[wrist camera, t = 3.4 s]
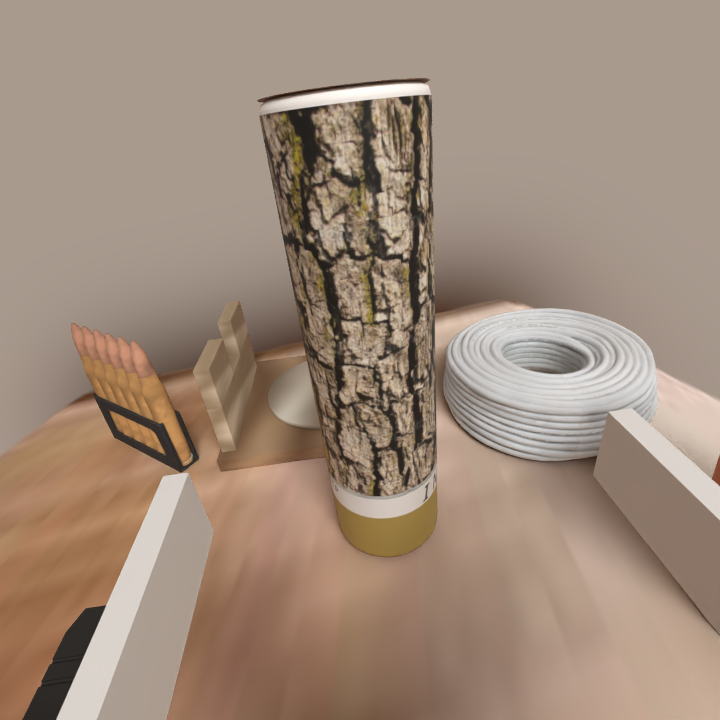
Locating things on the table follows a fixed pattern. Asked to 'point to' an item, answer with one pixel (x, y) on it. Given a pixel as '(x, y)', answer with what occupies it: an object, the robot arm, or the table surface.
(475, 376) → the cable
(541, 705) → the table surface
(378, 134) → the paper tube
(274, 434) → the base
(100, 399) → the ammunition clip
